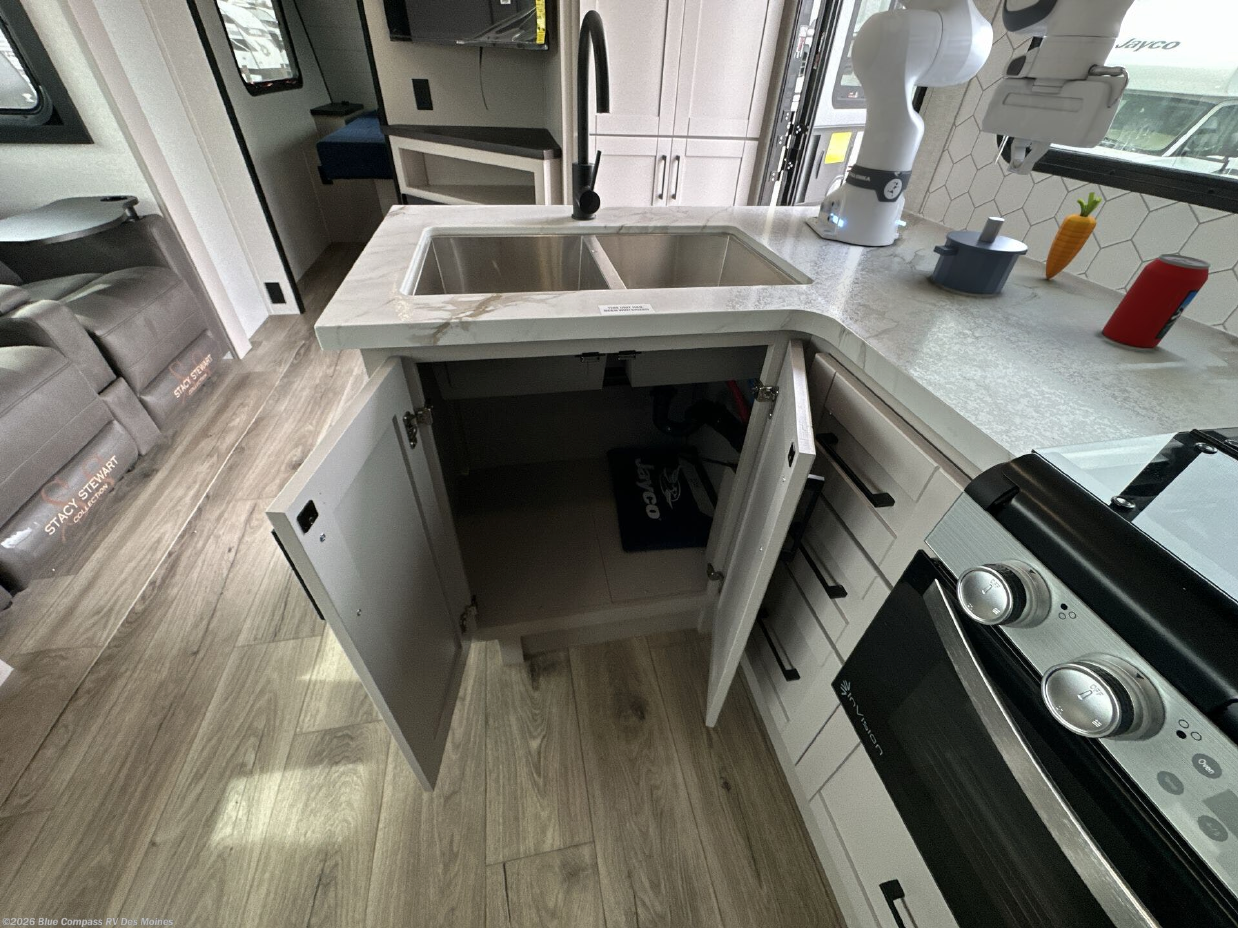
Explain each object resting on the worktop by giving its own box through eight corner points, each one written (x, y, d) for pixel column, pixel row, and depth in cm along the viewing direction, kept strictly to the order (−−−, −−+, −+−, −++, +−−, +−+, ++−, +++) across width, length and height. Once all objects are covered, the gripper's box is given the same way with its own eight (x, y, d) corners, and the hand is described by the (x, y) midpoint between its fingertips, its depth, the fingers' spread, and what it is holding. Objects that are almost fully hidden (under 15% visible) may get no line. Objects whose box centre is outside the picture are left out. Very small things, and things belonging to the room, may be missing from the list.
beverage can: (1164, 354, 74) (1230, 270, 66) (1113, 348, 75) (1172, 264, 67) (1137, 335, 79) (1196, 255, 72) (1089, 330, 80) (1142, 250, 72)
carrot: (1058, 285, 97) (1110, 197, 87) (1029, 277, 100) (1076, 192, 90) (1066, 280, 99) (1116, 194, 90) (1037, 273, 102) (1083, 189, 93)
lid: (929, 237, 93) (940, 209, 90) (988, 237, 95) (1000, 210, 92) (977, 258, 84) (991, 228, 81) (1041, 258, 86) (1057, 228, 83)
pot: (904, 276, 97) (921, 234, 92) (981, 275, 99) (1001, 234, 95) (944, 298, 88) (964, 253, 83) (1027, 296, 91) (1051, 253, 86)
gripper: (1156, 67, 66) (1090, 186, 75) (1031, 64, 82) (988, 163, 91) (1116, 64, 65) (1053, 186, 74) (997, 62, 81) (957, 162, 90)
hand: (1017, 173), depth 82 cm, fingers closed
